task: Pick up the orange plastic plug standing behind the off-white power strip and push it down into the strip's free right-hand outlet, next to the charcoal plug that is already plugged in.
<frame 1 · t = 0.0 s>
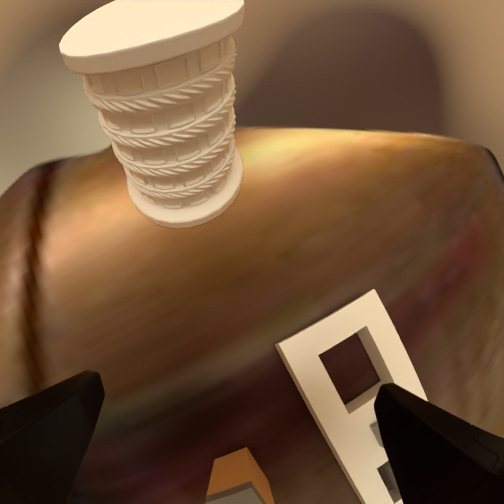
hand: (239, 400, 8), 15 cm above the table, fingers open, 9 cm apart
plug: (241, 470, 19), on the table
twin plug: (394, 464, 19), resting in power strip
decorative container: (185, 177, 28), on the table
power strip: (373, 422, 20), on the table
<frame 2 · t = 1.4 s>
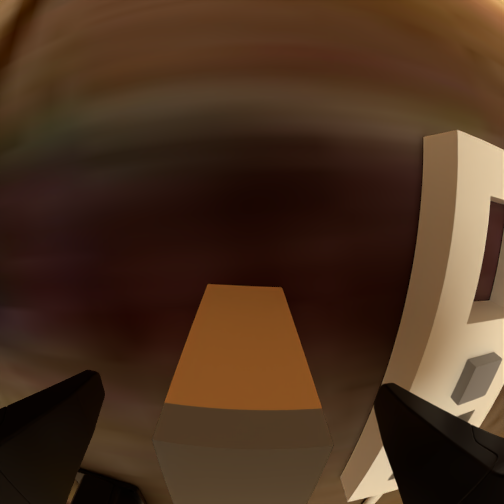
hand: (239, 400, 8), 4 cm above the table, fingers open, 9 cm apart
plug: (242, 329, 12), on the table
power strip: (450, 352, 13), on the table
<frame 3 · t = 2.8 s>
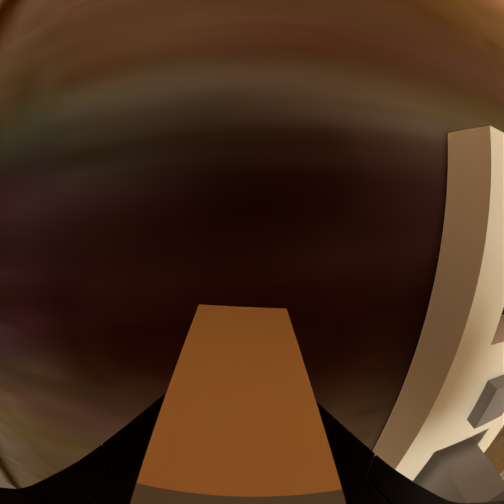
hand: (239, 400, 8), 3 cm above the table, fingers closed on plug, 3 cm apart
plug: (240, 355, 10), on the table, touching gripper
twin plug: (427, 443, 12), resting in power strip
power strip: (466, 370, 11), on the table
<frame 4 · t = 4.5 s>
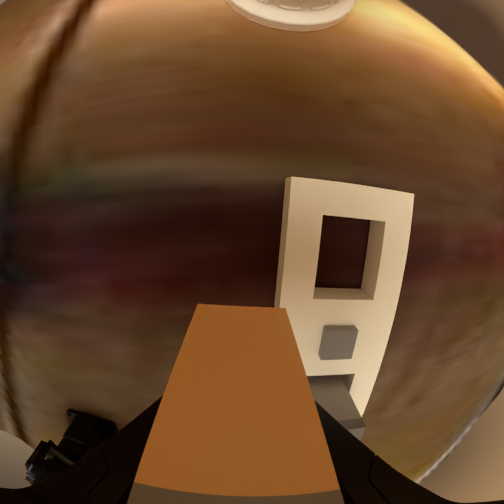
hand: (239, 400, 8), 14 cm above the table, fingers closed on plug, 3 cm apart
plug: (239, 355, 10), point 11 cm above the table, touching gripper
twin plug: (315, 383, 23), resting in power strip
power strip: (327, 325, 22), on the table
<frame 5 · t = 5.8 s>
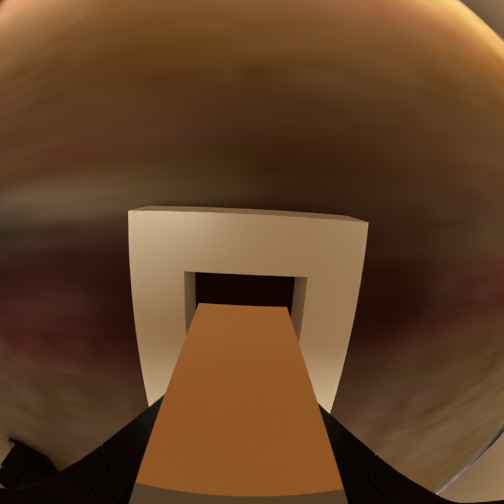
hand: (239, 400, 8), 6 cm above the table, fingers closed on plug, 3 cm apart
plug: (240, 354, 10), point 4 cm above the table, touching gripper
power strip: (239, 404, 15), on the table
when the fingers open (3 cm above the table, at t = 6.6 s): plug drops 1 cm, resting in power strip.
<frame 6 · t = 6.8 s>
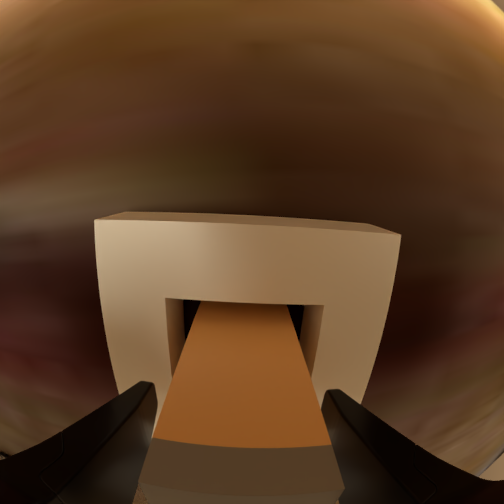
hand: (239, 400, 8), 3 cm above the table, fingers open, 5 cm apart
plug: (241, 341, 11), resting in power strip
power strip: (237, 436, 12), on the table
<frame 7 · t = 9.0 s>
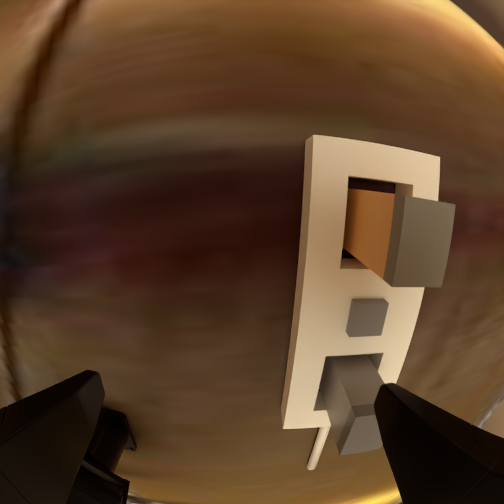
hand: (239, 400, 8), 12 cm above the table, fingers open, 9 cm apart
plug: (363, 219, 19), resting in power strip
twin plug: (339, 365, 22), resting in power strip
power strip: (353, 300, 20), on the table
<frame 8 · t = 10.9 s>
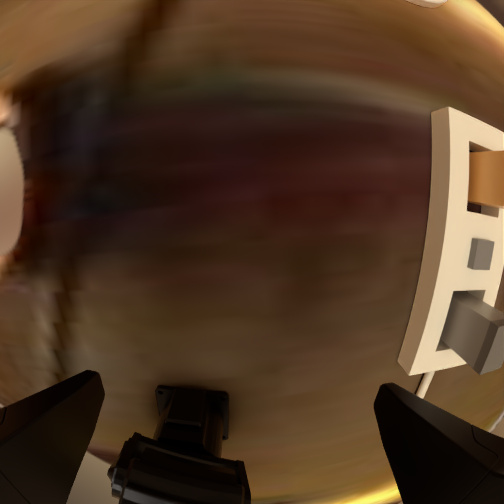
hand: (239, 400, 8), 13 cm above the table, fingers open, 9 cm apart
plug: (467, 179, 19), resting in power strip
twin plug: (447, 309, 22), resting in power strip
power strip: (460, 246, 20), on the table
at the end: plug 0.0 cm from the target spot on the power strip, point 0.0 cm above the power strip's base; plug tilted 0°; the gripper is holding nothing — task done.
